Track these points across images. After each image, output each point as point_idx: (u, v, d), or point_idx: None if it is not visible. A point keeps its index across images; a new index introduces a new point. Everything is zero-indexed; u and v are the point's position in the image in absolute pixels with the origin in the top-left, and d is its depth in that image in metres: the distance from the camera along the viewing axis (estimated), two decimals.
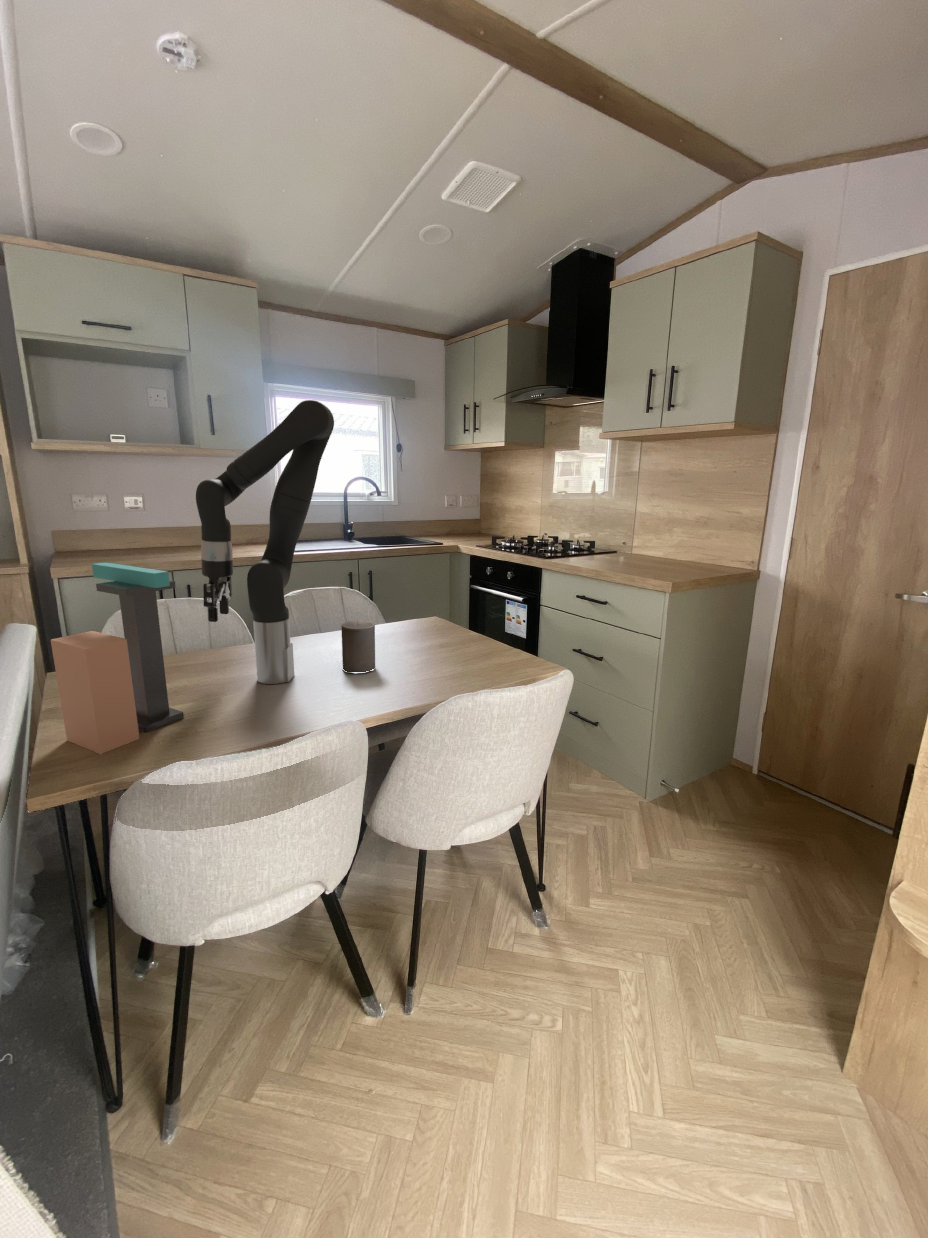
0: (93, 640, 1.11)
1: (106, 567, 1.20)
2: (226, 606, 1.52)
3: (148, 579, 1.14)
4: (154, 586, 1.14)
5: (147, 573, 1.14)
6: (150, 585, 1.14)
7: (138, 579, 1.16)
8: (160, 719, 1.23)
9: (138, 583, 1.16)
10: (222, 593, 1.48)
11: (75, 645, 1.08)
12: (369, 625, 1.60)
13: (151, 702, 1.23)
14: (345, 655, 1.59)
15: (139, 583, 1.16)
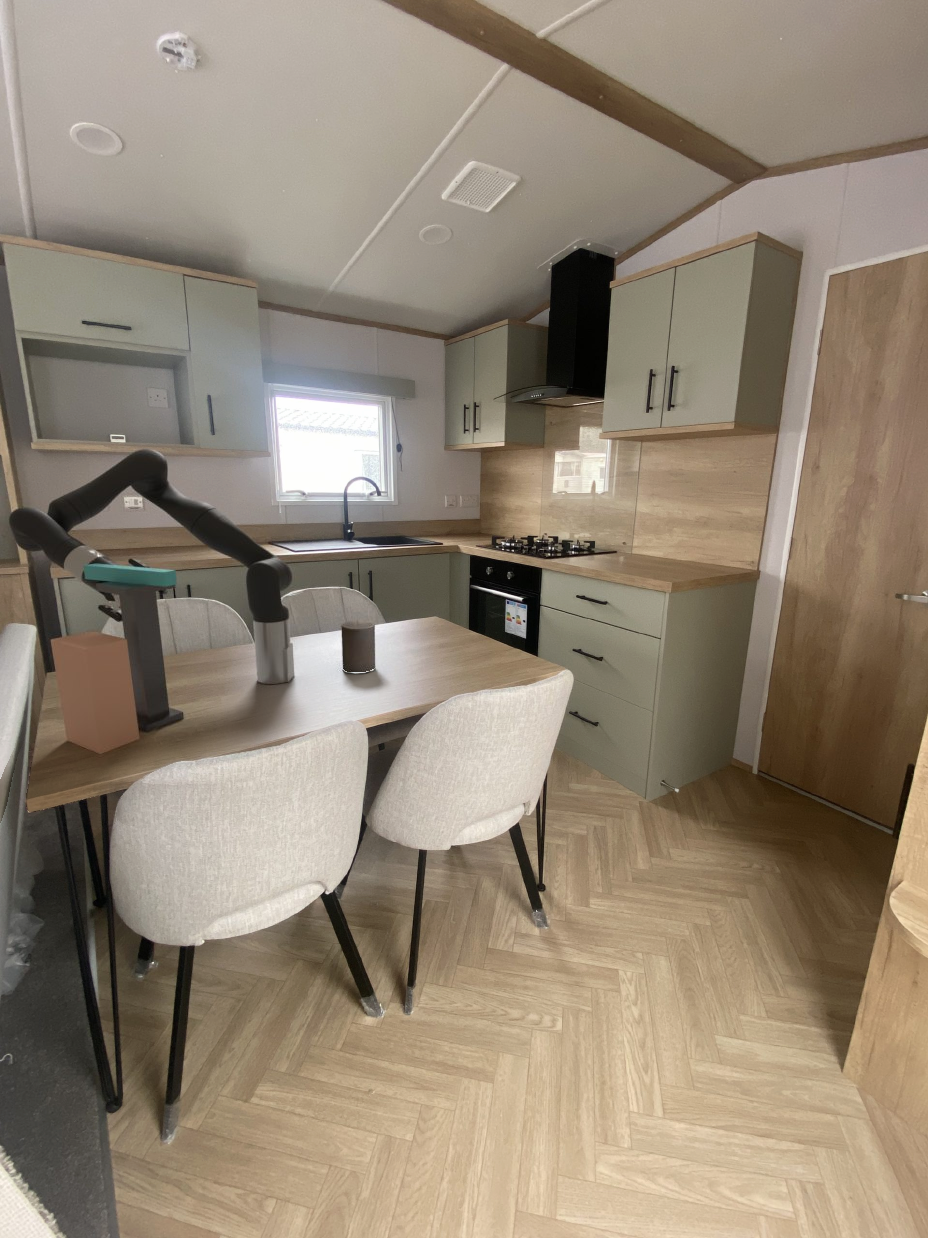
0: (93, 640, 1.11)
1: (102, 568, 1.19)
2: None
3: (156, 578, 1.15)
4: (163, 585, 1.15)
5: (155, 572, 1.15)
6: (158, 584, 1.15)
7: (143, 578, 1.16)
8: (160, 719, 1.23)
9: (143, 582, 1.17)
10: None
11: (75, 645, 1.08)
12: (369, 625, 1.60)
13: (151, 702, 1.23)
14: (345, 655, 1.59)
15: (144, 582, 1.16)
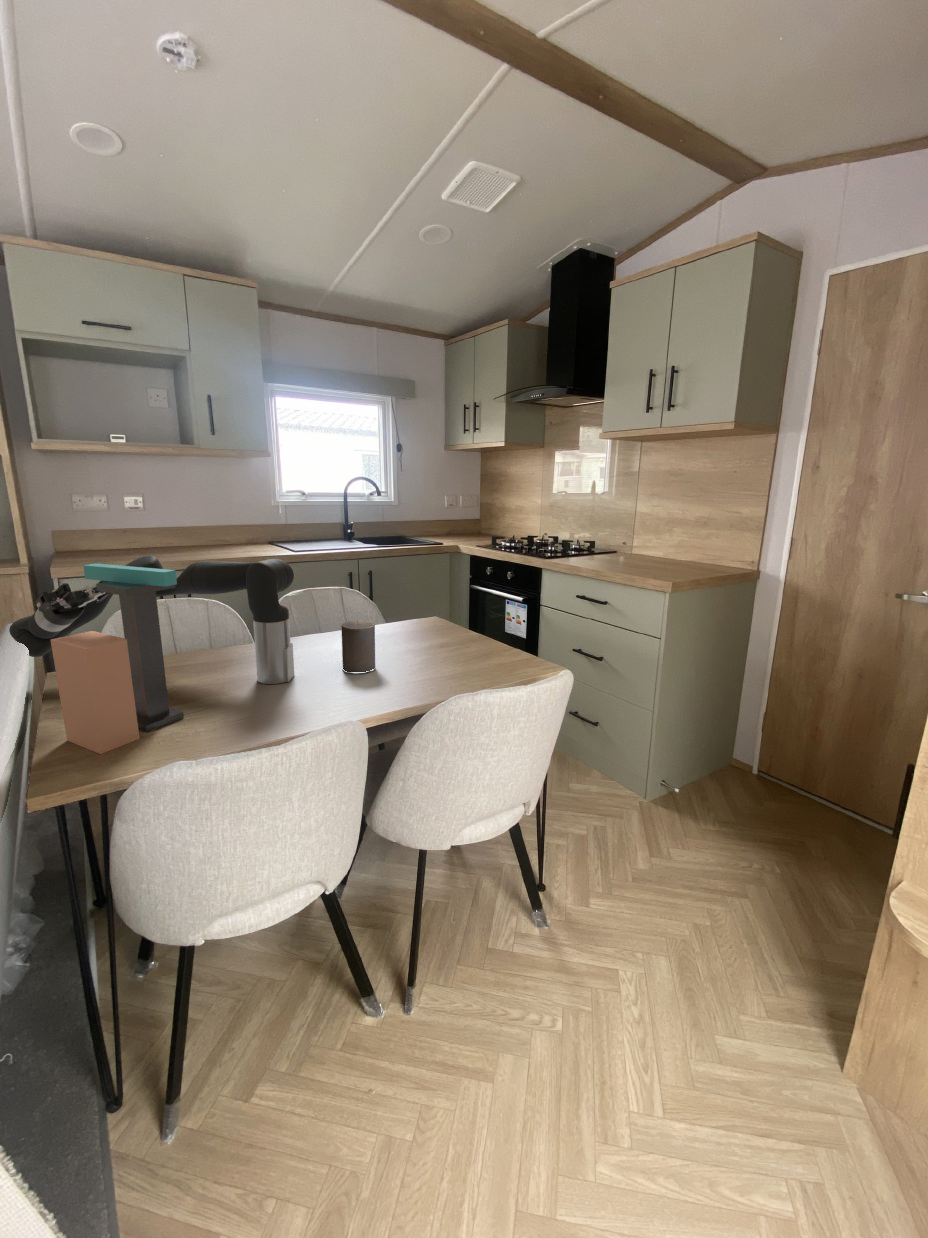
0: (93, 640, 1.11)
1: (102, 568, 1.19)
2: None
3: (156, 578, 1.15)
4: (163, 585, 1.15)
5: (155, 572, 1.15)
6: (158, 584, 1.15)
7: (143, 578, 1.16)
8: (160, 719, 1.23)
9: (143, 582, 1.17)
10: (77, 600, 1.30)
11: (75, 645, 1.08)
12: (369, 625, 1.60)
13: (151, 702, 1.23)
14: (345, 655, 1.59)
15: (144, 582, 1.16)
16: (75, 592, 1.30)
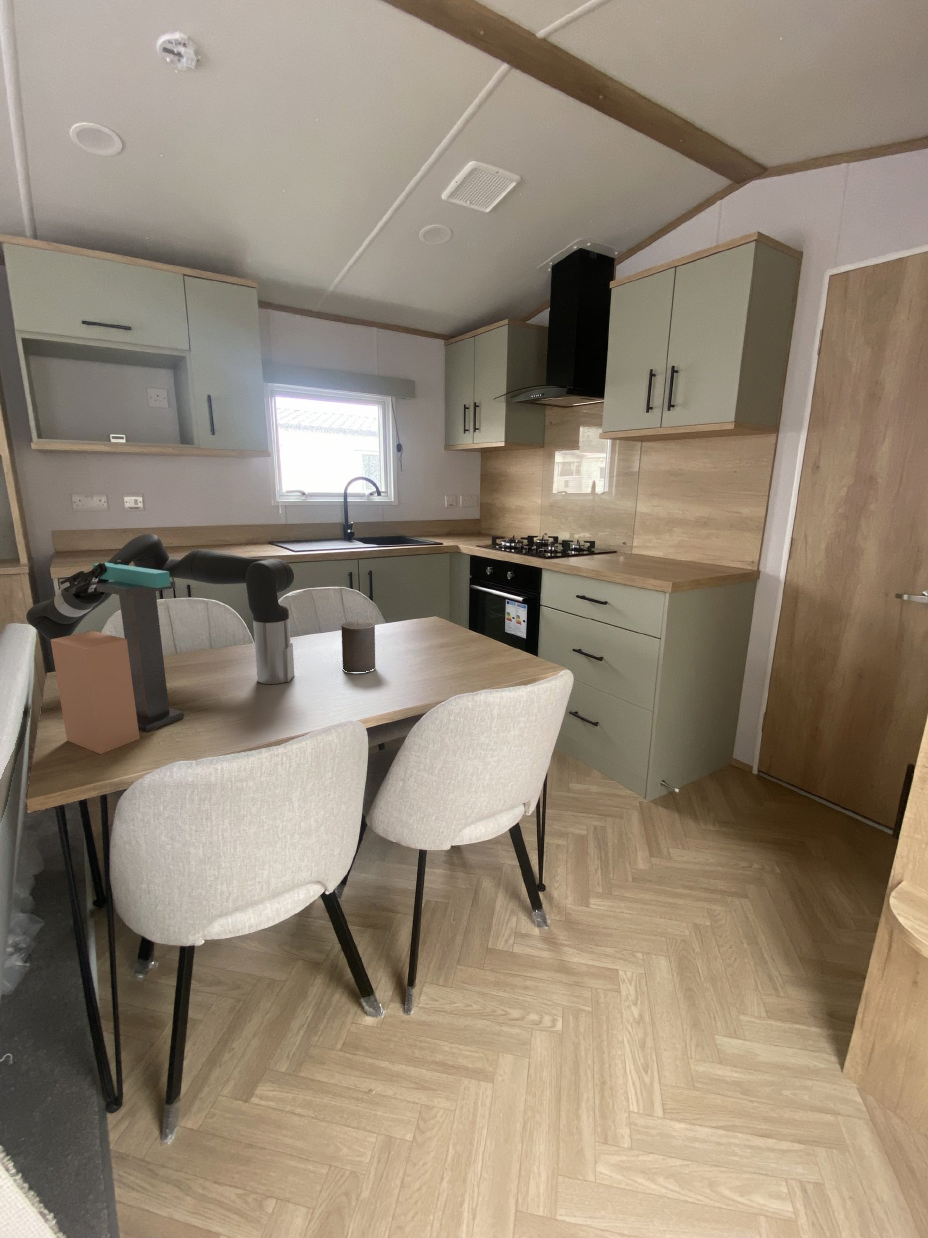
0: (93, 640, 1.11)
1: (107, 567, 1.20)
2: None
3: (149, 579, 1.14)
4: (155, 586, 1.13)
5: (148, 573, 1.14)
6: (151, 585, 1.14)
7: (139, 579, 1.16)
8: (160, 719, 1.23)
9: (139, 583, 1.16)
10: None
11: (75, 645, 1.08)
12: (369, 625, 1.60)
13: (151, 702, 1.23)
14: (345, 655, 1.59)
15: (140, 583, 1.16)
16: None
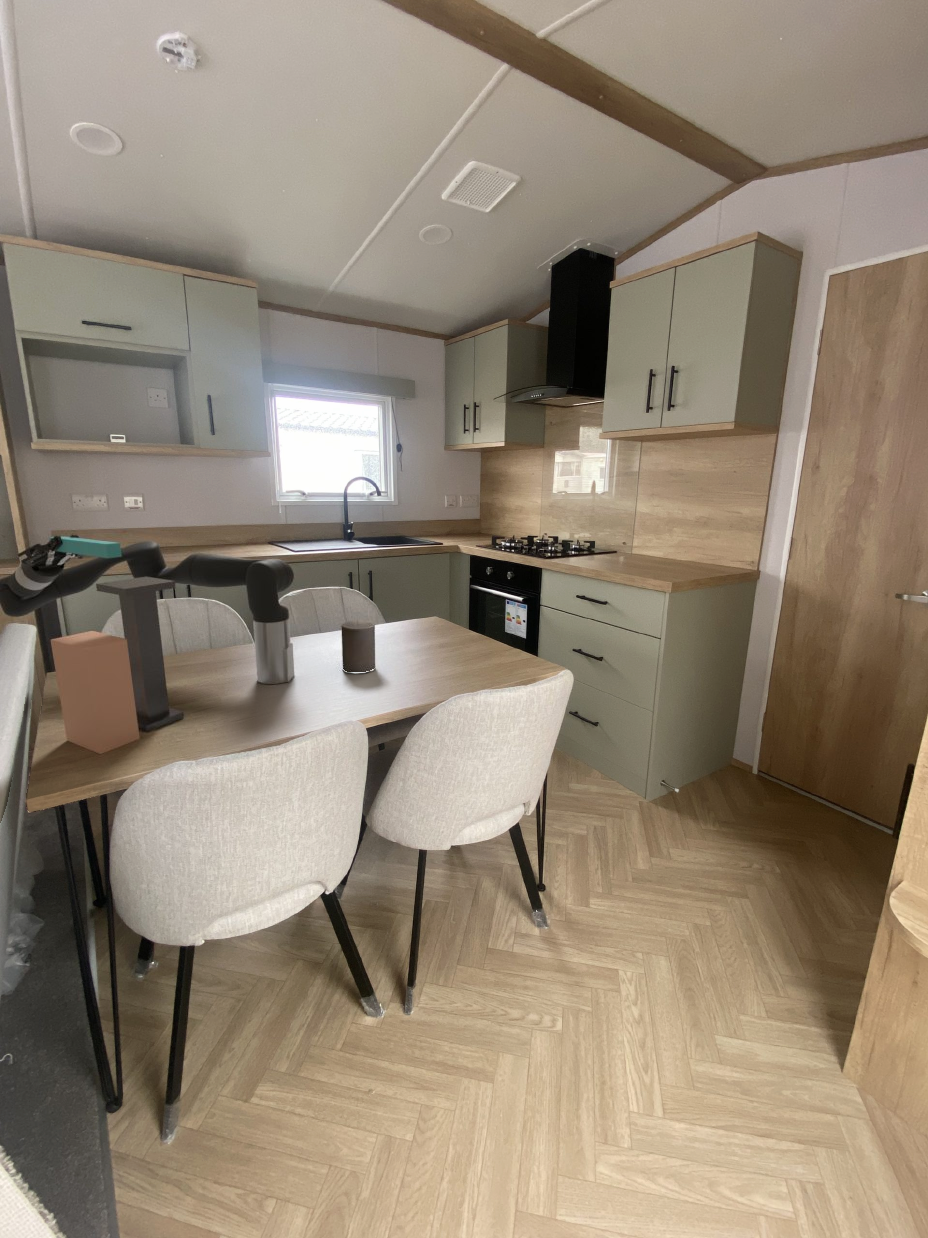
0: (93, 640, 1.11)
1: (62, 540, 1.25)
2: None
3: (100, 550, 1.19)
4: (106, 556, 1.19)
5: (99, 544, 1.19)
6: (102, 555, 1.19)
7: (91, 550, 1.21)
8: (160, 719, 1.23)
9: (91, 554, 1.21)
10: (56, 557, 1.31)
11: (75, 645, 1.08)
12: (369, 625, 1.60)
13: (151, 702, 1.23)
14: (345, 655, 1.59)
15: (92, 554, 1.21)
16: None
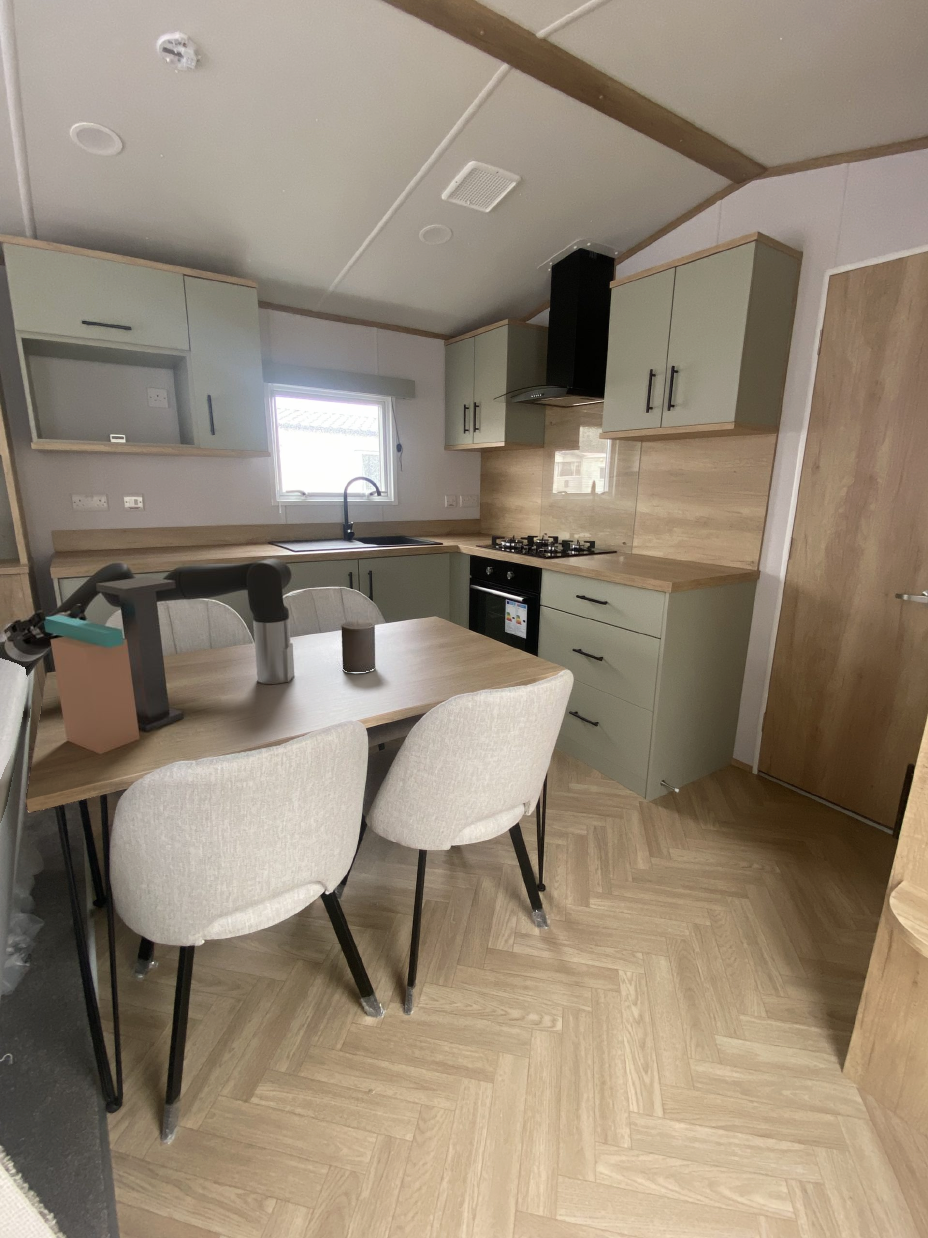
0: None
1: (58, 622, 1.13)
2: None
3: (100, 638, 1.07)
4: (106, 646, 1.07)
5: (99, 632, 1.07)
6: (102, 645, 1.07)
7: (90, 637, 1.09)
8: (160, 719, 1.23)
9: (90, 641, 1.09)
10: None
11: (75, 645, 1.08)
12: (369, 625, 1.60)
13: (151, 702, 1.23)
14: (345, 655, 1.59)
15: (91, 641, 1.09)
16: None
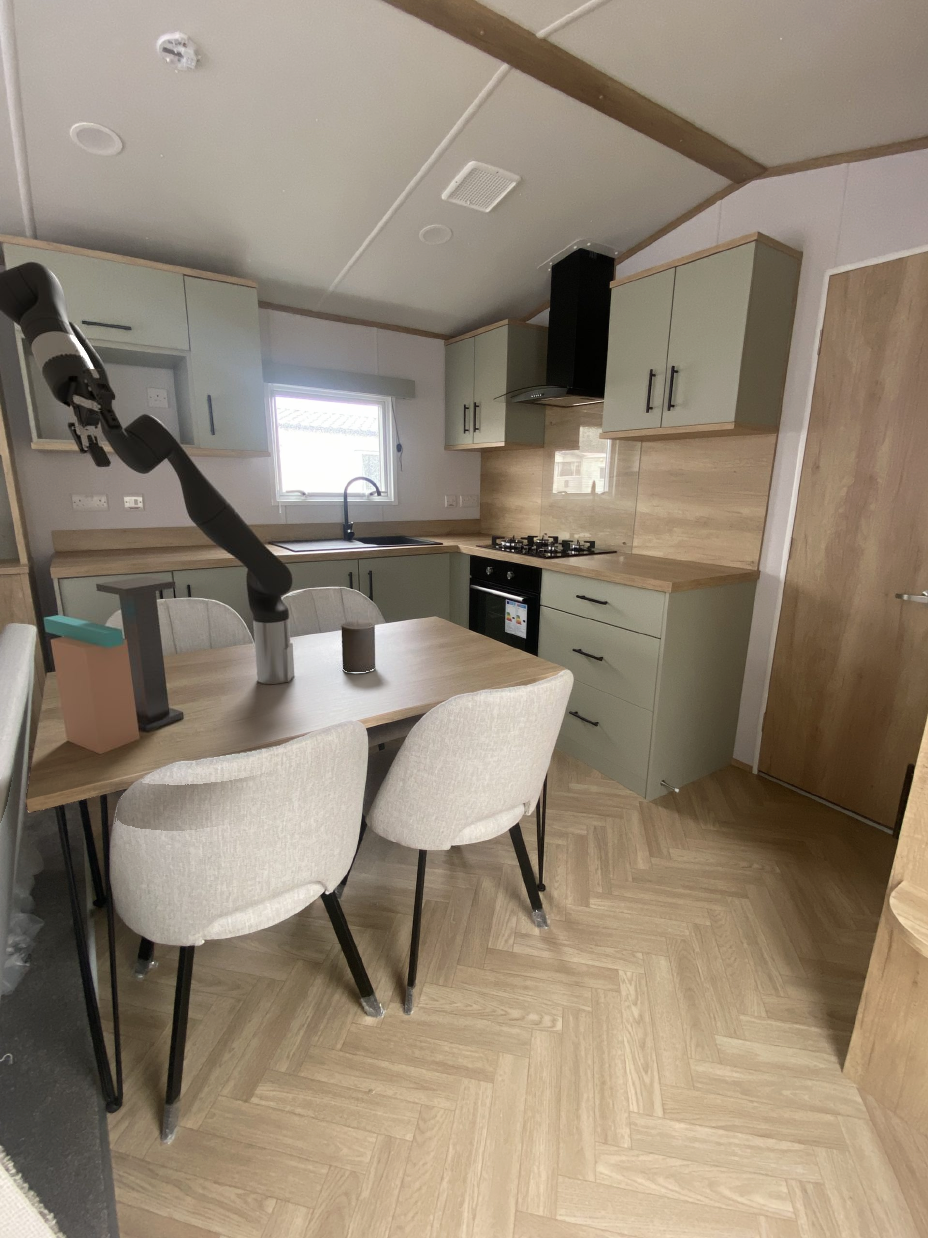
0: None
1: (58, 622, 1.13)
2: (103, 453, 0.94)
3: (100, 638, 1.07)
4: (106, 646, 1.07)
5: (99, 632, 1.07)
6: (102, 645, 1.07)
7: (90, 637, 1.09)
8: (160, 719, 1.23)
9: (90, 641, 1.09)
10: None
11: (75, 645, 1.08)
12: (369, 625, 1.60)
13: (151, 702, 1.23)
14: (345, 655, 1.59)
15: (91, 641, 1.09)
16: (89, 417, 0.91)
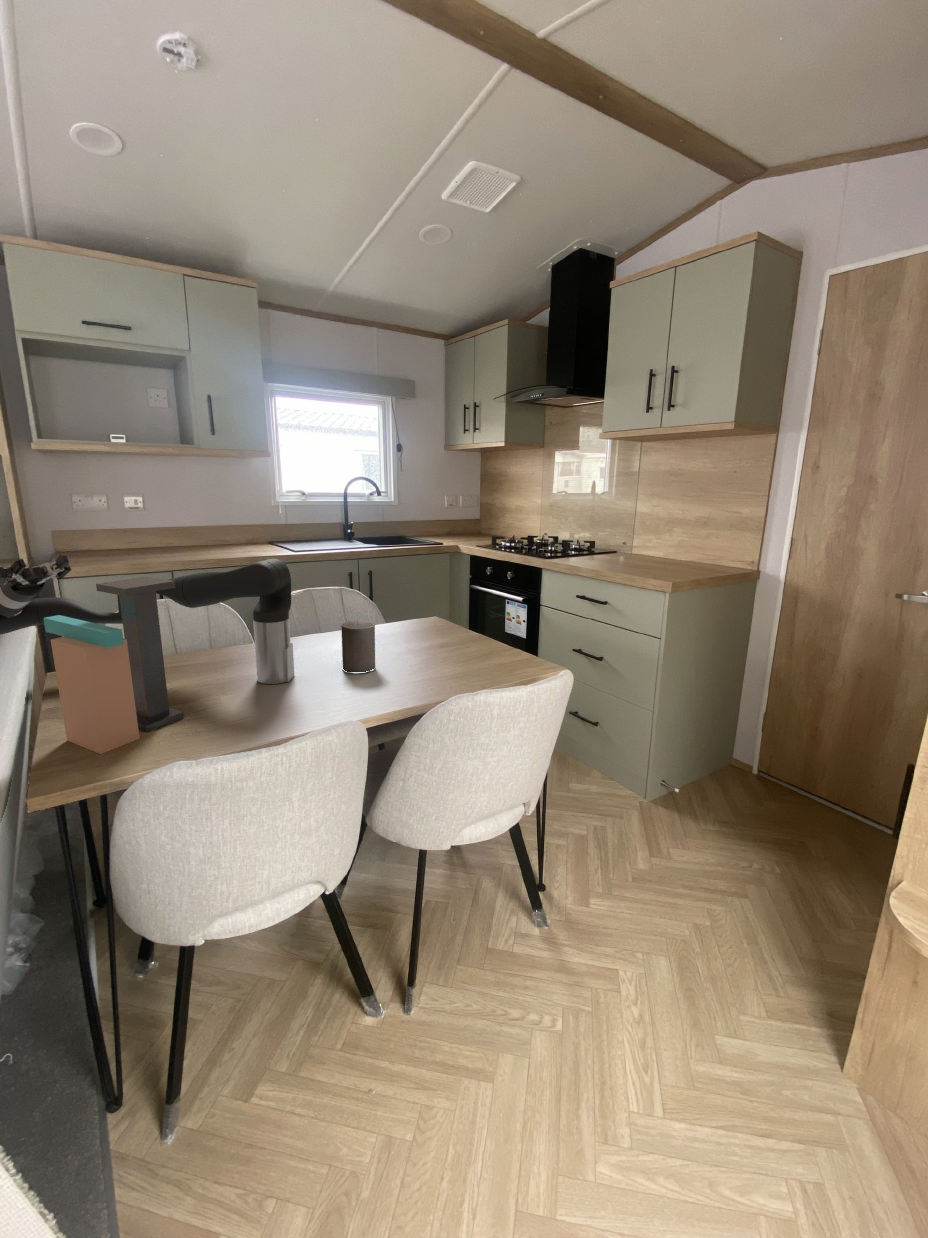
0: None
1: (58, 622, 1.13)
2: (58, 559, 1.31)
3: (100, 638, 1.07)
4: (106, 646, 1.07)
5: (99, 632, 1.07)
6: (102, 645, 1.07)
7: (90, 637, 1.09)
8: (160, 719, 1.23)
9: (90, 641, 1.09)
10: (31, 568, 1.30)
11: (75, 645, 1.08)
12: (369, 625, 1.60)
13: (151, 702, 1.23)
14: (345, 655, 1.59)
15: (91, 641, 1.09)
16: (35, 574, 1.29)
